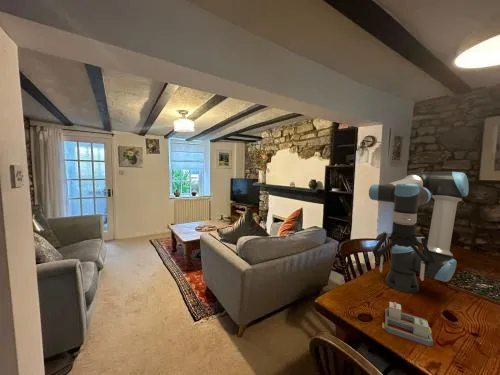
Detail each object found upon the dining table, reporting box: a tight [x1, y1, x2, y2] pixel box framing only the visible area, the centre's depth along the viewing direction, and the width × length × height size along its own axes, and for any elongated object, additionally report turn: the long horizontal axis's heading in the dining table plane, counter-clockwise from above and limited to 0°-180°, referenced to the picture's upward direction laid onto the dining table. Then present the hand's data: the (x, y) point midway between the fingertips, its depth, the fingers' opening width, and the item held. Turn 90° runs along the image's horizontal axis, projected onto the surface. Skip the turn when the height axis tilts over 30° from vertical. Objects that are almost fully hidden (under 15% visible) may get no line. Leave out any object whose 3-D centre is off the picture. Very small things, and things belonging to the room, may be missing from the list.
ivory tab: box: [388, 301, 402, 320], centre depth 94 cm, size 4×4×7 cm
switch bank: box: [381, 308, 434, 347], centre depth 89 cm, size 14×17×3 cm
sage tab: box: [412, 317, 430, 339], centre depth 84 cm, size 4×4×7 cm
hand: (400, 274), depth 89 cm, fingers open, 13 cm apart
